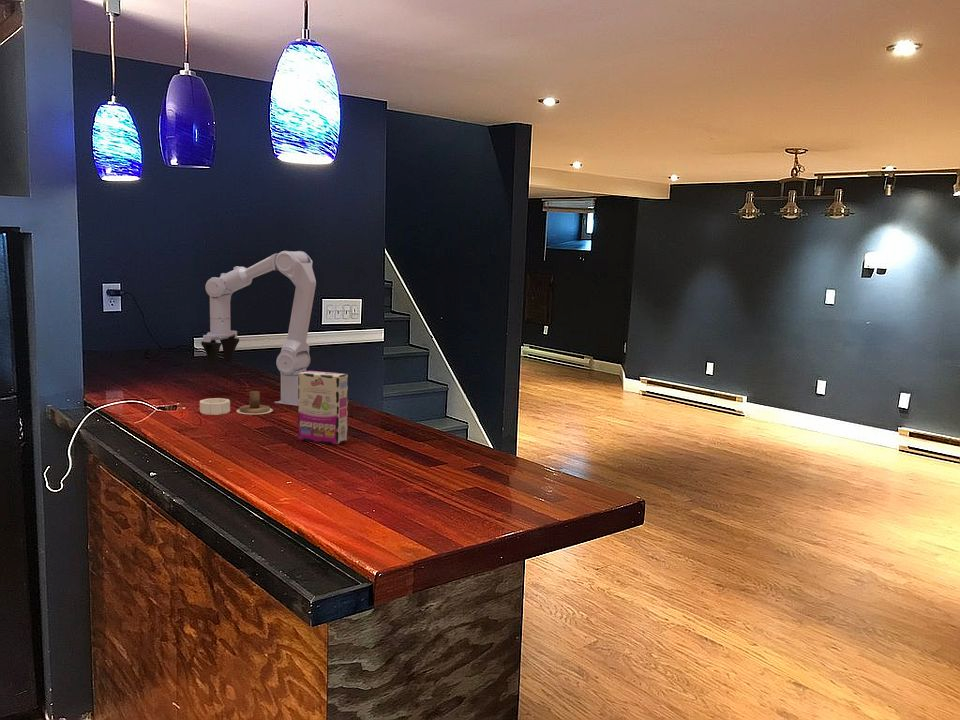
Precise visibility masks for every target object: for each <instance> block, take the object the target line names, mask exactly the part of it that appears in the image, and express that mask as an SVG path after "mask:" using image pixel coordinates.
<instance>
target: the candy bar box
mask: <svg viewBox="0 0 960 720" xmlns="http://www.w3.org/2000/svg"><path fill="white" fill-rule="evenodd" d="M348 397H349V374H348V373H339V372H329V371H327V372H326V371H316V370H315V371H314V370H306V371H304V372H301V373H298V406H297V407H298V409H297V410H298V413H297V417H298V418H297V420H298V421H297V423H298V424H297V431H298V433H297V435H298V436H297V437H298V438H297V439H298V440H299V441H308V442H316V443H322V444H331V445H340V444H342V443H345V442H347V441H348V424H349V423H348V419H349V418H348V415H349V414H348V413H349V412H348V411H349V410H348V409H349V407H348V405H349V404H348V403H349V399H348Z"/></svg>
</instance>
